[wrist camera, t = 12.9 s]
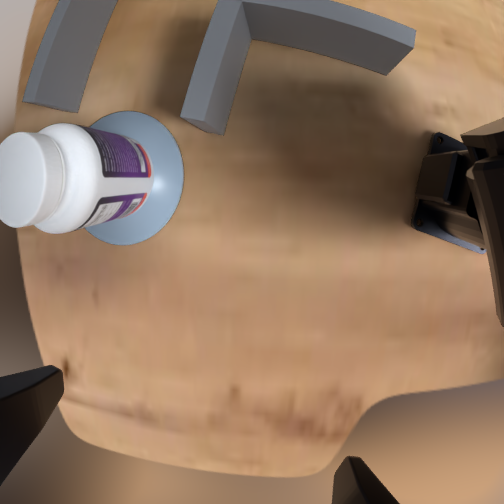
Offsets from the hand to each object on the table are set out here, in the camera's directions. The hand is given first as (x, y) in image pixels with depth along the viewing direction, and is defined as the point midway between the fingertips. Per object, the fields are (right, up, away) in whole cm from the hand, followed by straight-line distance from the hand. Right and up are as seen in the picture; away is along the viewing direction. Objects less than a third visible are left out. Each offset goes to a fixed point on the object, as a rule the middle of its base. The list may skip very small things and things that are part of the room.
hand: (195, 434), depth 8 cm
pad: (-7, +10, +12) cm, 17 cm away
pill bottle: (-7, +10, +12) cm, 17 cm away
